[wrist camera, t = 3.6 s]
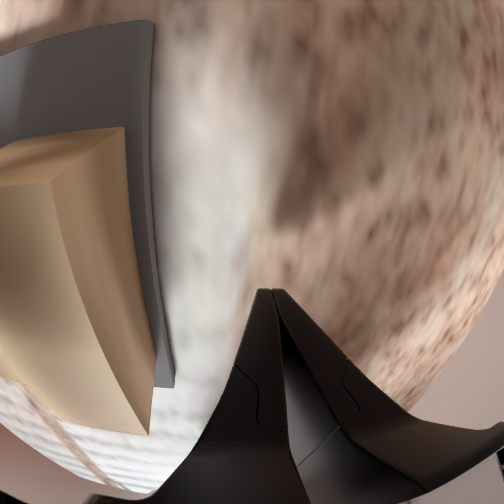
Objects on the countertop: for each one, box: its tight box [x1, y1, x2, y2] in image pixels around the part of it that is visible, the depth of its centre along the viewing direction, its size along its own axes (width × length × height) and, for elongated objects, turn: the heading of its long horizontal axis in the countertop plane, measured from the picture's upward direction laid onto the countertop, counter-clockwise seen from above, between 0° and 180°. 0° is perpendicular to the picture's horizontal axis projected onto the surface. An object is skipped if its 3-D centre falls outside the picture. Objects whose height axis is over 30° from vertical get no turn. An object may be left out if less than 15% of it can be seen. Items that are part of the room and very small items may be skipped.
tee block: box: [0, 127, 157, 436], centre depth 7 cm, size 9×10×4 cm
